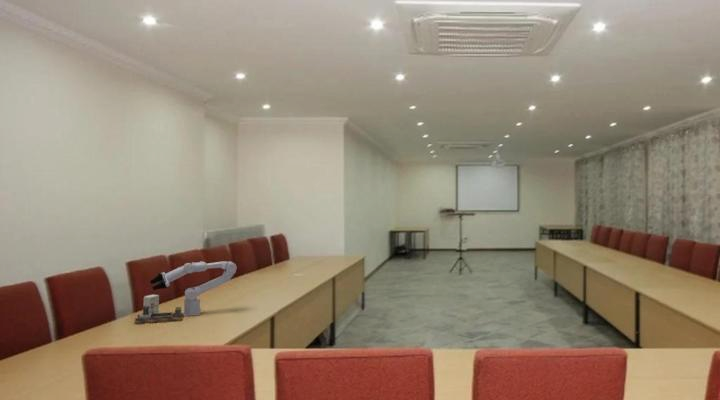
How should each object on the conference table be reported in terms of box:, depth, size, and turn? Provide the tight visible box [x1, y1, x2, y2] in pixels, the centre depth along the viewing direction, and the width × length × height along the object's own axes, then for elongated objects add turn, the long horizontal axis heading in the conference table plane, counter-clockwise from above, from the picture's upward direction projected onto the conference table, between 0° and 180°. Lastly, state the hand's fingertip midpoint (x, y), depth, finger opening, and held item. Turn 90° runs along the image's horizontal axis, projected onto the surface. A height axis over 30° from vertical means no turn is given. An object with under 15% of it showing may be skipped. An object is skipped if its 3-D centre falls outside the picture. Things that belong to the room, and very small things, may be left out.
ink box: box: [142, 294, 160, 314], centre depth 278 cm, size 9×5×12 cm, turn 168°
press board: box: [134, 306, 184, 325], centre depth 265 cm, size 25×13×6 cm, turn 108°
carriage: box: [139, 306, 154, 318], centre depth 263 cm, size 7×7×7 cm
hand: (151, 285), depth 270 cm, fingers open, 7 cm apart
